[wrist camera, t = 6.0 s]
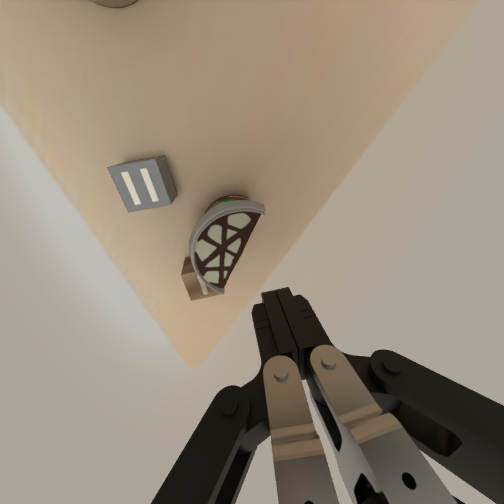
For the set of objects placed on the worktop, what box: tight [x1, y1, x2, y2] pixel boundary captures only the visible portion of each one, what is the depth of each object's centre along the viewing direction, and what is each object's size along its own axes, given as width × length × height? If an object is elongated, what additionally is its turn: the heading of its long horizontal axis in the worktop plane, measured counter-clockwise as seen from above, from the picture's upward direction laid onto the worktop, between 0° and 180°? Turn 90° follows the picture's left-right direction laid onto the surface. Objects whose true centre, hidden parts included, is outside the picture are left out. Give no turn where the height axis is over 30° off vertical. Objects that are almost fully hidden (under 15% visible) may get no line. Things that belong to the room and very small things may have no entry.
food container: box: [189, 195, 265, 294], centre depth 27 cm, size 12×6×10 cm, turn 154°
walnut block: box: [181, 257, 222, 301], centre depth 33 cm, size 5×5×5 cm
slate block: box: [107, 155, 177, 212], centre depth 25 cm, size 5×5×5 cm
